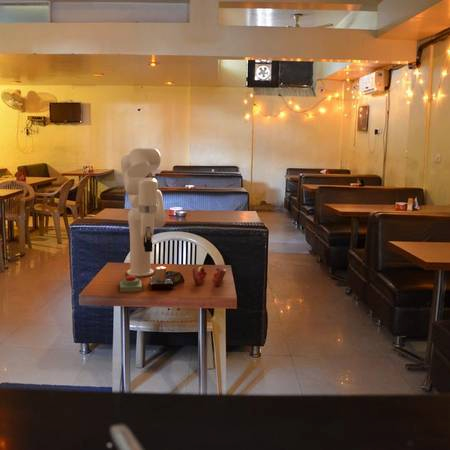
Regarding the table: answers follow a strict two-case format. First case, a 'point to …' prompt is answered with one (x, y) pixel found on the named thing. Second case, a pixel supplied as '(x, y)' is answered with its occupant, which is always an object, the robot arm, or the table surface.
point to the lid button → (130, 278)
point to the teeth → (201, 274)
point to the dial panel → (160, 284)
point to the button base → (130, 285)
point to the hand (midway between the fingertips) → (147, 249)
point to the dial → (160, 273)
